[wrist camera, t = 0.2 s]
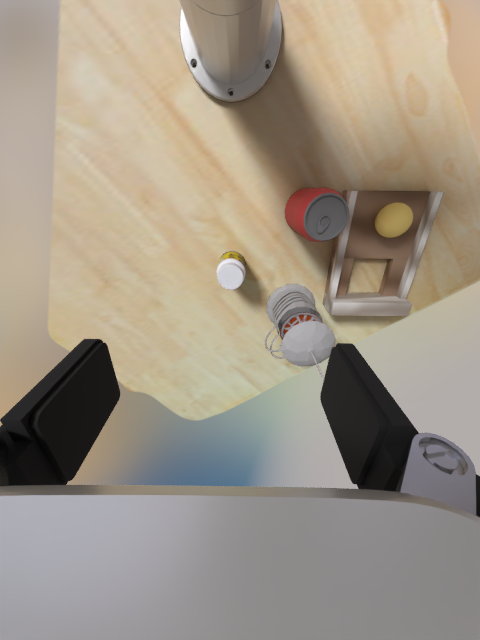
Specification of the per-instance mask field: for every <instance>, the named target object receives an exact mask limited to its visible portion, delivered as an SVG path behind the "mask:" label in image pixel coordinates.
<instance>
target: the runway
mask: <svg viewBox="0 0 480 640" xmlns="http://www.w3.org/2000/svg"><path fill="white" fill-rule="evenodd" d="M443 193H444V192H426V191H344V192H343V198H344V200H345V201H346V202H347V205H348V208H349V218H348V221H347V224H346V226H345V228H344V229H343V231H342V232H341V233H340V234H339V235H338V236H337V237H335V240H334V246H333V251H332V256H331V262H330V267H329V273H328V278H327V283H326V289H325V294H324V300H323V305H324V307H325V308H326V309H327V311H328V312H329V313H330V315H338V316H408V314H409V312H410V309H411V306H412V303H411V302H409V301H408V300H406V297H407V294H408V291H409V289H410V286H411V283H412V280H413V277H414V275H415V272H416V269H417V266H418V263H419V261H420V258H421V255H422V252H423V249H424V247H425V244H426V241H427V238H428V235H429V233H430V230H431V227H432V224H433V221H434V219H435V216H436V213H437V210H438V207H439V205H440V202H441V199H442V196H443ZM392 203H404V204H406V205H407V206H409V207H410V209H411V210H412V213H413V221H412V224H411V226H410V227H409V229H408V230H407V231H406V232H404V233H403V234H401V235H399V236H397V237H392V238H388V237H384V236H382V235H380V234H379V233H378V232H377V230H376V228H375V219H376V216H377V214H378V213H379V211H380V210H381V209H382V208H384V207H385V206H387V205H389V204H392ZM354 258H363V259H389V260H388V263H387V266H386V270H385V273H384V276H383V280H382V283H381V286H380V290H379V293H346V292H347V288H348V283H349V279H350V275H351V270H352V266H353V262H354Z"/></svg>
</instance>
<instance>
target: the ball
mask: <svg viewBox="0 0 480 640" xmlns="http://www.w3.org/2000/svg"><path fill="white" fill-rule="evenodd" d="M412 221H413V213H412V210H411V209H410V207H409V206H407V205H406V204H404V203H392V204H389V205H387V206H385V207H384V208H382V209H381V210H380V211H379V213H378V214H377V216H376V219H375V228H376V230H377V232H378V233H379V234H380V235H382V236H384V237H388V238H392V237H397V236H399V235H401V234H403V233H404V232H406V231H407V230H408V229H409V227H410V226H411V224H412Z"/></svg>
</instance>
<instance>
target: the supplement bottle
mask: <svg viewBox="0 0 480 640" xmlns="http://www.w3.org/2000/svg"><path fill="white" fill-rule="evenodd" d="M245 275H246V268H245V260H244V258H243V256H242V255H241V254H240V253H238V252H236V251H228V252H226V253H224V254H223V255H222V256H221V258H220V261H219V264H218V267H217V277H218V281H219V283H220V285H221V286H222V287H224V288H226V289H229V290H232V289H236V288H238V287H239V286H240V285H241V284H242V282H243V280H244V279H245Z"/></svg>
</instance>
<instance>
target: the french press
mask: <svg viewBox="0 0 480 640" xmlns="http://www.w3.org/2000/svg"><path fill="white" fill-rule="evenodd" d="M314 312H315V313H314ZM313 313H314V314H313ZM267 315H268V317H269V319H270V321H272V322H273V323H274V325H275V326H274V328H273V329H272V330H271V331H270V332H269V333H268V335H267V337H266V339H265V348H266V349H267V350H268V351H270V352H271V355H272V356H273V357H275V358H279V359H281V358H285V359H287V360H288V361H289V362H291V363H292V364H295V365H298V366H312V365H315V364H316V365H317V367H318V370H319V372H320V374H321V376H322V378H323V381H324V377H323V375H322V372H321V370H320V369H319V366H318V363H321V362H322V361H323V360H325V359H326V358H327V357H329V355H330V353H331V349H332V347H334V345H335V337H334V334H333V331H332V330H331V329H330V328H329V327H328V326H327V325H326V324H323V323H322V318H321V316H320V314H319V313H318V311H317V310H316V308H315V300H314V297H313V294H312V293H311V292H310V291H309V290H308V289H307V288H306V287H304V286H301V285H298V284H287V285H284V286H282V287H280V288H278V289H276V290H275V291H274V292H273V293H272V294H271V295H270V297H269V300H268V302H267ZM275 327H276V329H277V332H278V328H279V331H280V332H278V335H279V334H280V335H279V336H281V338H282V345H281V349H280V350H275V351H274V350H271V349H272V344H273V341H274V340H275V339H276V337H277V336H278V335H277V336H276V337H275V338H274V339H273V341H272V343H271V346H270V350H269V349H268V348H267V343H266V341H267V338H268V336H269V334H270V333H271V332H272V331H273V330H274V329H275ZM281 350H282V352H283V354H284V356H283V357H276V356H274V355H273V354H272V352H278V351H281Z"/></svg>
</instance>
